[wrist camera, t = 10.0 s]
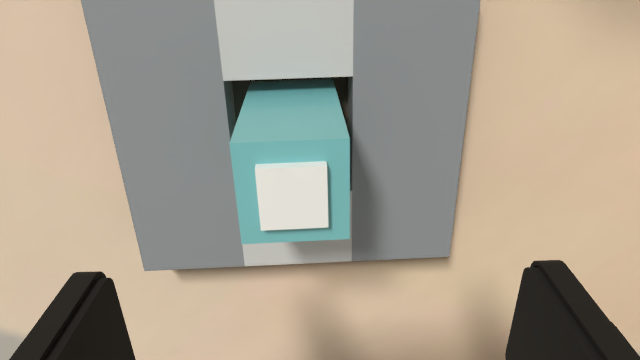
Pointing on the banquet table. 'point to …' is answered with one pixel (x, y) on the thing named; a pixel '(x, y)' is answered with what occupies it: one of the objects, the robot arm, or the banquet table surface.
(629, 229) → the banquet table surface
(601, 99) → the banquet table surface
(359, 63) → the socket plate
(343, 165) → the block
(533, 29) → the banquet table surface
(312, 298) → the banquet table surface
